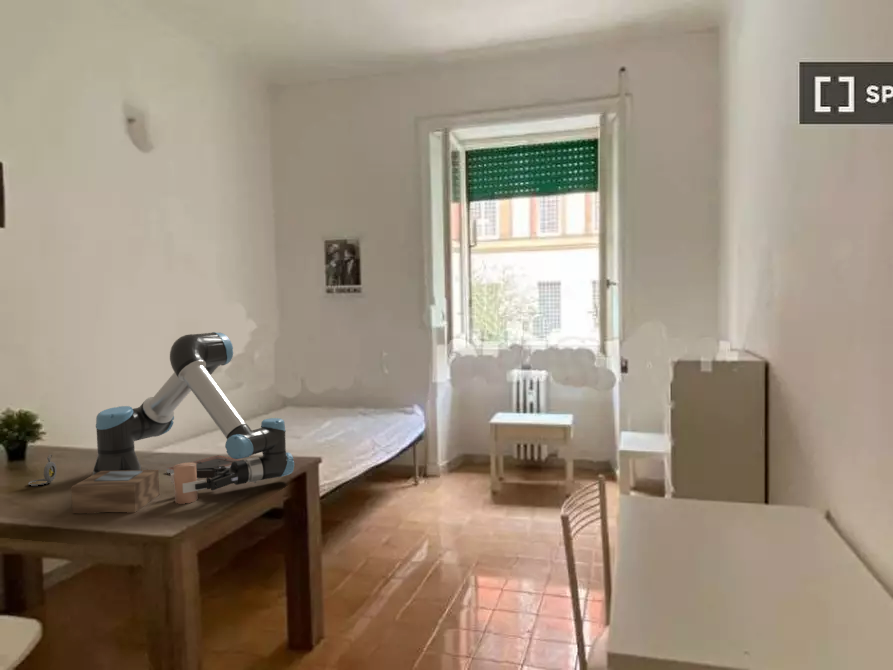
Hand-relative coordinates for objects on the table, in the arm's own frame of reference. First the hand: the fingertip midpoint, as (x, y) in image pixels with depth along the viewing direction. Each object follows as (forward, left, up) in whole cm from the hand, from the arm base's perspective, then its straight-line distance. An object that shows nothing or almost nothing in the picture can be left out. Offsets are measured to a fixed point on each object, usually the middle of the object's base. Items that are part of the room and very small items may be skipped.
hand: (176, 483), depth 198 cm
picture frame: (-39, -4, -7) cm, 39 cm away
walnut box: (0, -18, -6) cm, 19 cm away
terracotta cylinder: (-2, +2, -6) cm, 6 cm away
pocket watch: (-24, -54, -6) cm, 59 cm away
